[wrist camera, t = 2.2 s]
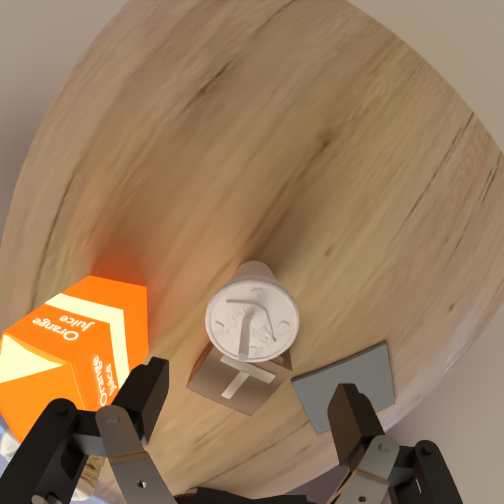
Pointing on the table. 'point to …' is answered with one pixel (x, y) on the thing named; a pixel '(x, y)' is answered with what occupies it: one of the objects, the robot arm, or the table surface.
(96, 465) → the storage basket
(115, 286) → the orange juice
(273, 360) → the lettered block
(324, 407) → the slate pad
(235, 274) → the smoothie
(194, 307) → the table surface
